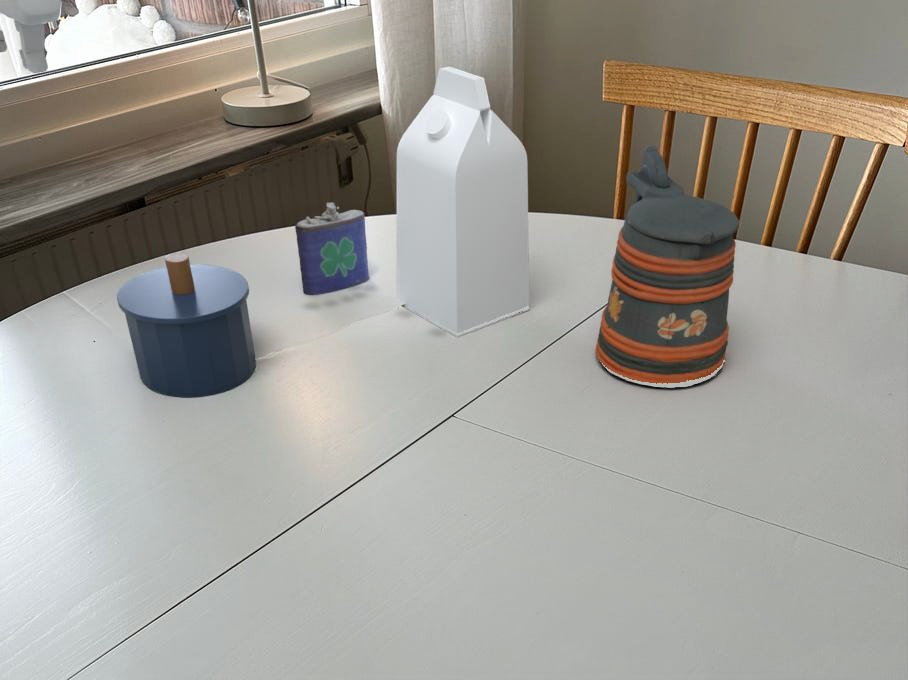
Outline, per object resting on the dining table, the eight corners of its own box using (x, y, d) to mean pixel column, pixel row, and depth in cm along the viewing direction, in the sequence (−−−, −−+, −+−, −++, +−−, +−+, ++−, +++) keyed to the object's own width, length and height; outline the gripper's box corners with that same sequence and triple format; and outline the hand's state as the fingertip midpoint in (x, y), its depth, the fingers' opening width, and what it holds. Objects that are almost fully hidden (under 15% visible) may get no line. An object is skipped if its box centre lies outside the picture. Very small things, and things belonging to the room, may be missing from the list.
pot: (120, 366, 114) (101, 293, 108) (218, 332, 120) (205, 262, 114) (176, 409, 107) (159, 334, 101) (277, 372, 113) (267, 298, 107)
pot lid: (96, 297, 108) (85, 254, 105) (208, 264, 115) (201, 222, 112) (158, 342, 101) (148, 297, 98) (274, 304, 107) (268, 260, 104)
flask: (363, 277, 132) (357, 192, 124) (374, 285, 130) (369, 199, 122) (299, 294, 128) (289, 207, 120) (310, 303, 126) (300, 215, 119)
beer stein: (561, 323, 122) (573, 147, 109) (670, 307, 126) (695, 135, 112) (627, 399, 109) (650, 209, 95) (747, 379, 113) (786, 193, 99)
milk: (529, 309, 125) (539, 75, 107) (457, 337, 119) (455, 95, 102) (467, 278, 132) (467, 53, 114) (396, 302, 126) (384, 70, 108)
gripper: (-110, -126, 93) (-57, 45, 102) (-23, -100, 82) (28, 89, 91) (-41, -131, 96) (4, 35, 105) (51, -107, 85) (93, 77, 94)
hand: (16, 61), depth 98 cm, fingers open, 8 cm apart
